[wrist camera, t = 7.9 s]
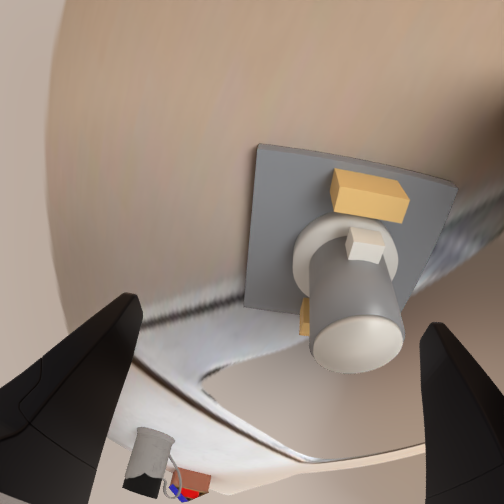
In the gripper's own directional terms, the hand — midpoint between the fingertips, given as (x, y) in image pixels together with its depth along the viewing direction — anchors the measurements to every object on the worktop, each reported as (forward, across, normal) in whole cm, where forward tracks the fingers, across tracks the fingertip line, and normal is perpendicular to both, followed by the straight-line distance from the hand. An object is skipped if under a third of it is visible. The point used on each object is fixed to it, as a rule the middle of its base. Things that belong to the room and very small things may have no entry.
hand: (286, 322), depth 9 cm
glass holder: (+12, +20, +62) cm, 66 cm away
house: (+13, +21, +108) cm, 111 cm away
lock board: (+12, -4, +6) cm, 14 cm away
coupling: (+10, -4, +6) cm, 12 cm away
